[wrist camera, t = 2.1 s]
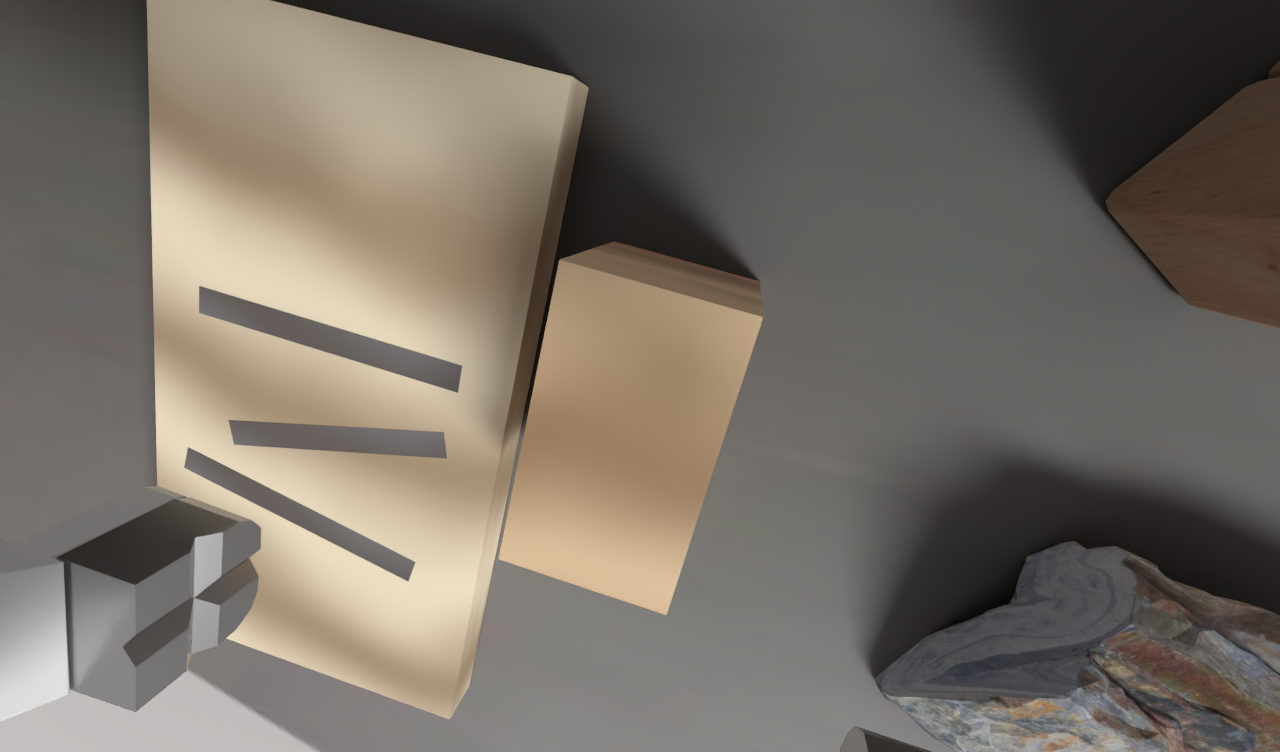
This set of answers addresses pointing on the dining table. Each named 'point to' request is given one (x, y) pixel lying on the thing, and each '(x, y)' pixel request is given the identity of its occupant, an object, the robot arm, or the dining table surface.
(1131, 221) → the stacked wooden blocks
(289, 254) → the board
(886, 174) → the dining table surface
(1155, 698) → the stone
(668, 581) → the block
